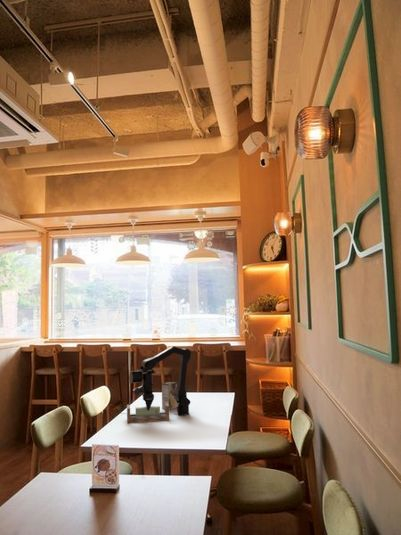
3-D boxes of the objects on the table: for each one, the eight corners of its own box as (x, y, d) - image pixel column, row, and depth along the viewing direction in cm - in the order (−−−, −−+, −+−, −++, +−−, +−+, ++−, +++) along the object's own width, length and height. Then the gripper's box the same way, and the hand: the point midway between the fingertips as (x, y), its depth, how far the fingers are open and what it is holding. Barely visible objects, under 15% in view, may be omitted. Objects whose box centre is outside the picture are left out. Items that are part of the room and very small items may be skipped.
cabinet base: (167, 416, 254) (167, 402, 255) (169, 420, 244) (169, 406, 245) (127, 418, 250) (127, 404, 251) (127, 423, 240) (127, 408, 241)
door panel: (159, 416, 250) (159, 405, 251) (159, 417, 247) (159, 407, 248) (135, 417, 248) (135, 407, 248) (135, 419, 244) (135, 408, 245)
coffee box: (171, 406, 282) (170, 381, 284) (178, 407, 278) (178, 382, 280) (161, 408, 275) (161, 383, 276) (169, 409, 271) (168, 384, 273)
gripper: (133, 379, 257) (133, 406, 255) (134, 384, 239) (134, 413, 237) (151, 378, 259) (151, 405, 257) (153, 383, 241) (154, 412, 239)
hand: (147, 408), depth 248 cm, fingers open, 9 cm apart
